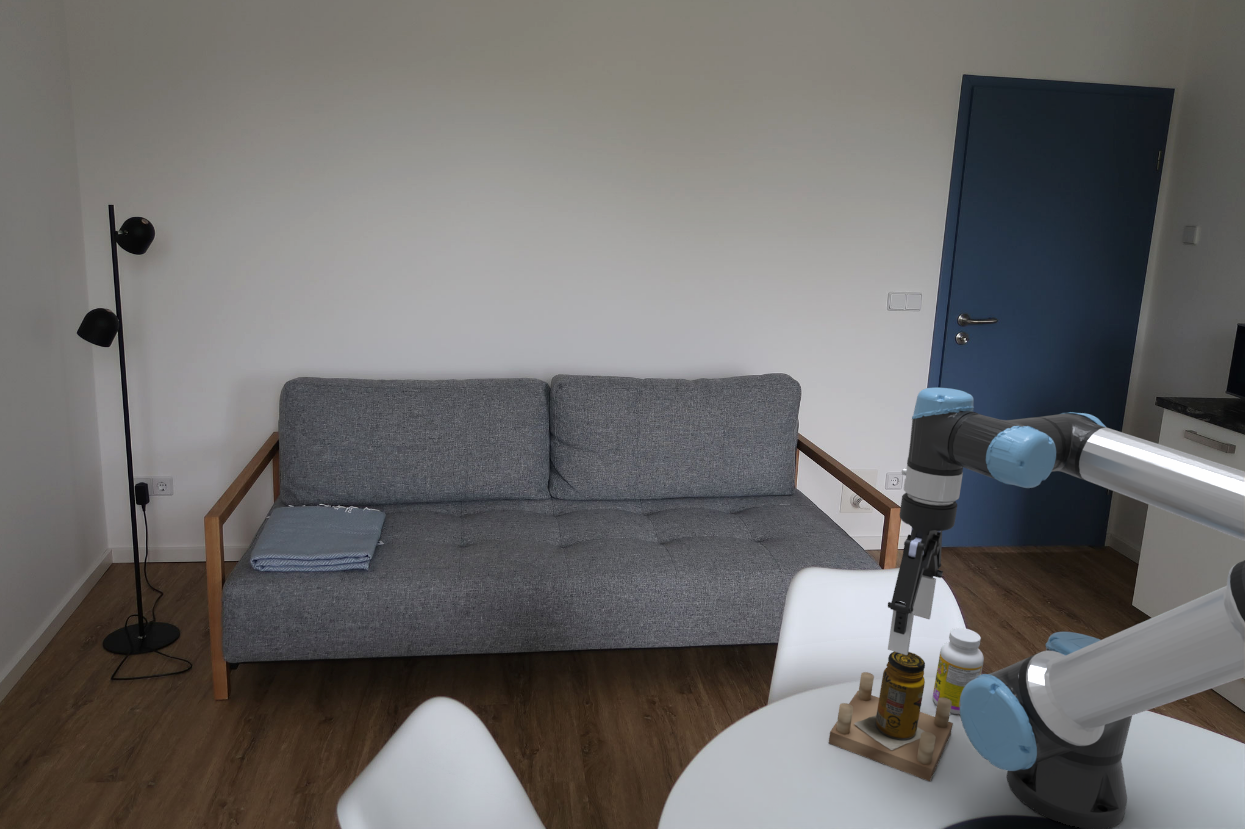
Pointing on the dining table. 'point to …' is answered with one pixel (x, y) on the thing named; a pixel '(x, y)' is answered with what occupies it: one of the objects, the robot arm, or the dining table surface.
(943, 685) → the supplement bottle
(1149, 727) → the dining table surface
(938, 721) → the peg holder
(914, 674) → the condiment
